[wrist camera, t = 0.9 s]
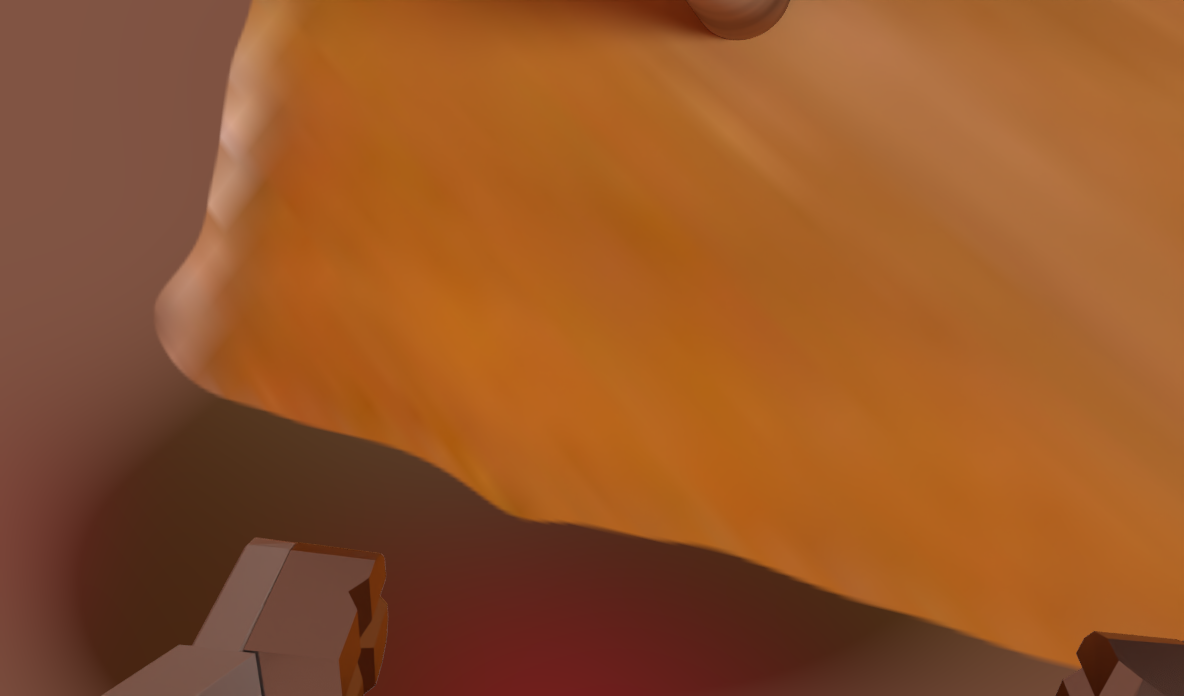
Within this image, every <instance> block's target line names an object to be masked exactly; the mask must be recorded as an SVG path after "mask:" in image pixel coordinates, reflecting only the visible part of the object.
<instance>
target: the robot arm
mask: <svg viewBox="0 0 1184 696" xmlns="http://www.w3.org/2000/svg"><path fill="white" fill-rule="evenodd" d="M385 579H386V569H385V556H383V555H382V554H381V553H373V552H366V551H358V550H351V549H344V548H336V547H329V546H322V545H314V544H307V543H299V542H298V543H293V542H286V541H278V540H271V539H264V538H256V537H255V538H254V539H253V540H252V541H251V542H250V543H249V544H248V545H247V546H245V548H244V550H243V552H242V553H241V555H240V557H239V559H238V561H237V563H236V564H235V566H234V568H233V570H232V572H231V574H230V576H229V578H228V580H227V581H226V583H225V585H224V587H223V589H222V591H221V593H220V594H219V596H218V598H217V600H216V602H215V604H214V606H213V607H212V609H211V611H210V613H209V615H208V617H207V619H206V621H205V623H204V624H203V626H202V628H201V630H200V632H199V634H198V636H197V637H196V639H195V641H194V643H193V645H192V646H187V645H178V646H177V647H175V648H173V649H172V650H170V651H169V652H167V653H166V654H164V655H163V656H161V657H159V658H158V659H156V660H155V661H153V662H152V663H150V664H149V665H147V666H146V667H144V668H143V669H141V670H140V671H138V672H137V673H135V674H134V675H132V676H130V677H129V678H127V679H126V680H124V681H123V682H121V683H120V684H118V685H117V686H115V687H114V688H112V689H111V690H109V691H108V692H106V693H104V694H103V695H101V696H364V694H365V693H366V692H368V691H369V690H370V689H371V688H373V687H374V686H375V685H376V682H377V679H378V675H379V672H380V669H381V665H382V661H383V655H384V650H385V645H386V640H387V628H388V605H387V603H386V602H385V601H384V600H383V599H382V598H381V597H380V595H381V591H382V588H383V586H384V583H385ZM1076 654H1077V656H1078V659H1079V661H1080V663H1081V666H1082V668H1081V669H1080V670H1078V671H1076V672H1075V673H1073V674H1071V675H1069V676H1068V677H1066V678H1064V679H1063V680H1062V682H1061V685H1060V687H1059V689H1058V692H1057V694H1056V696H1184V641H1180V640H1177V639H1168V638H1158V637H1148V636H1138V635H1128V634H1118V633H1108V632H1098V631H1094V632H1092V633H1091V634H1090V635H1088V636H1087V637H1085V638H1084V640H1083V641H1082V643H1081V645H1080V647H1079V649H1078V651H1077V653H1076Z"/></svg>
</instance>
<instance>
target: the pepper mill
mask: <svg viewBox="0 0 1184 696" xmlns="http://www.w3.org/2000/svg"><path fill="white" fill-rule="evenodd" d="M686 1H687V3H688V4H689V5H690V7H691V8H692V9H693V11H694V12H695V13H696V15H697V16H698V18H699V19H700V20H701V22H702V23H703V24H704V26H705V27H706V28H707V29H708V30H710V31H711V32H712V33H714V34H716V35H717V36H719V37H722V38H725V39H730V40H745V39H750V38H753V37H756V36H759V35H761V34H763V33H764V32H766V31H768V30H769V29H770V28H771V27H773V26H774V25H775V24H776V23H777V22H778V21H779V19H780V18H781V17H782V15H783V14H784V12H785V11H786V9H787V7H788V4H789V2H790V0H686Z"/></svg>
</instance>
